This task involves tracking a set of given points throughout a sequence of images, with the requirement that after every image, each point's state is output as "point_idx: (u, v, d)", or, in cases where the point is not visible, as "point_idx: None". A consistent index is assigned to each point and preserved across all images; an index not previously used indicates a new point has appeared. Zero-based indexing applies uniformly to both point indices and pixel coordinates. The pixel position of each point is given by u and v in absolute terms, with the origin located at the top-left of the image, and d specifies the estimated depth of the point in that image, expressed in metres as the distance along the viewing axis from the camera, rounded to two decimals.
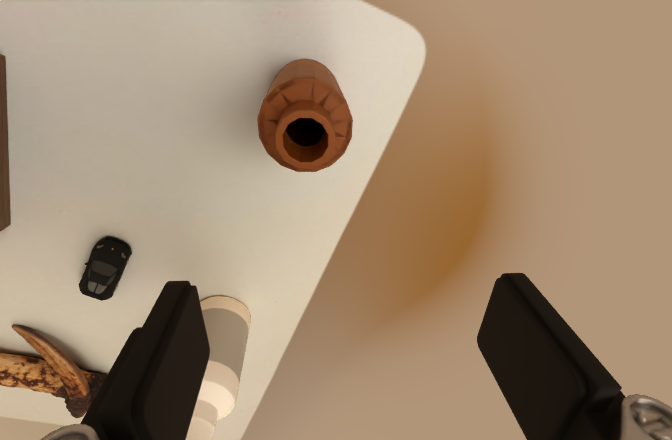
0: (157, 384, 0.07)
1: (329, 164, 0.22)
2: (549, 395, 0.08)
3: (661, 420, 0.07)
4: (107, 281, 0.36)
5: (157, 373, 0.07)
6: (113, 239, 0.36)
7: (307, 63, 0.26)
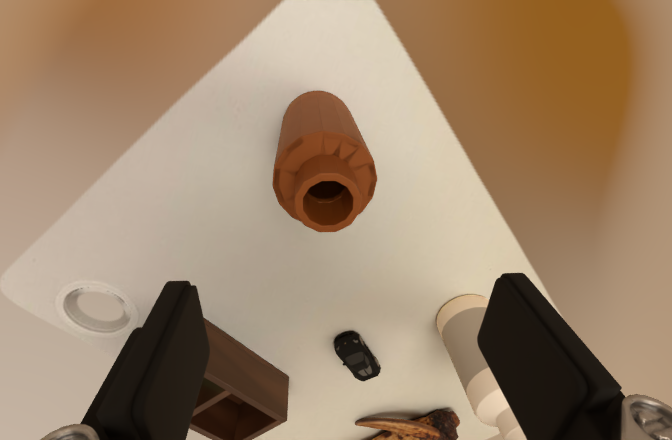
0: (157, 384, 0.07)
1: (374, 180, 0.19)
2: (549, 395, 0.08)
3: (661, 420, 0.07)
4: (366, 364, 0.41)
5: (157, 373, 0.07)
6: (339, 336, 0.41)
7: (286, 118, 0.24)
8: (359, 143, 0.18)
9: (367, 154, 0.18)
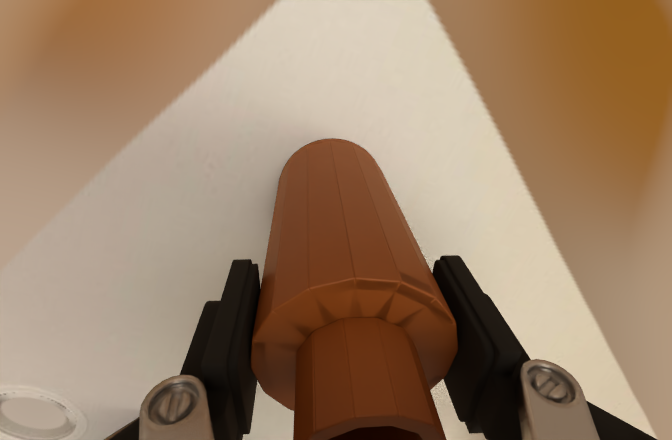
0: (242, 345, 0.08)
1: (453, 352, 0.10)
2: (467, 364, 0.09)
3: (551, 379, 0.08)
4: None
5: (242, 335, 0.08)
6: None
7: (282, 190, 0.15)
8: (431, 296, 0.08)
9: (445, 313, 0.09)
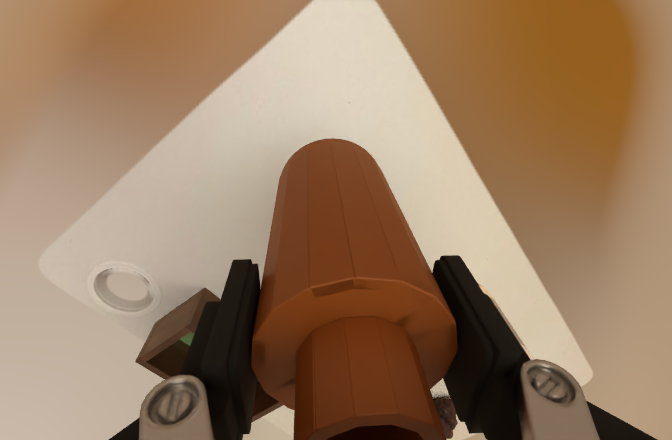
0: (242, 345, 0.08)
1: (453, 351, 0.10)
2: (467, 364, 0.09)
3: (551, 379, 0.08)
4: None
5: (242, 335, 0.08)
6: None
7: (282, 190, 0.15)
8: (431, 295, 0.09)
9: (445, 313, 0.09)
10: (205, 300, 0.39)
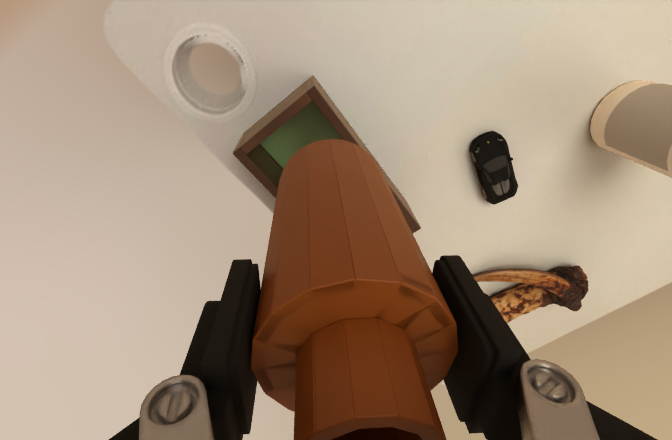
0: (242, 345, 0.08)
1: (454, 353, 0.10)
2: (467, 364, 0.09)
3: (551, 379, 0.08)
4: (508, 171, 0.35)
5: (242, 335, 0.08)
6: (479, 137, 0.35)
7: (282, 191, 0.15)
8: (431, 297, 0.08)
9: (445, 314, 0.09)
10: (318, 84, 0.30)
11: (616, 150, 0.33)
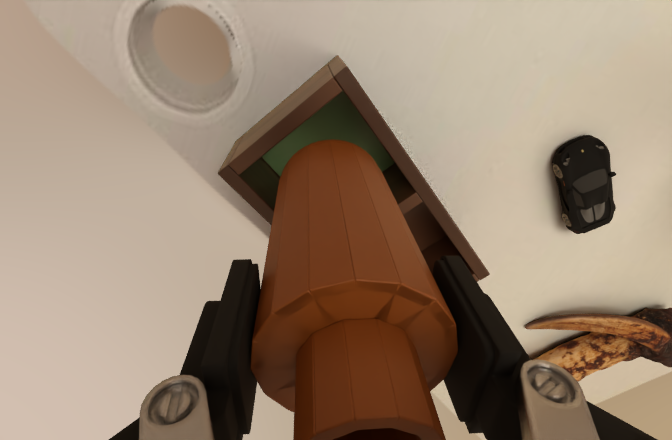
0: (242, 345, 0.08)
1: (453, 353, 0.10)
2: (467, 364, 0.09)
3: (551, 378, 0.08)
4: (608, 191, 0.25)
5: (242, 335, 0.08)
6: (567, 144, 0.25)
7: (282, 191, 0.15)
8: (431, 297, 0.08)
9: (445, 315, 0.09)
10: None
11: None
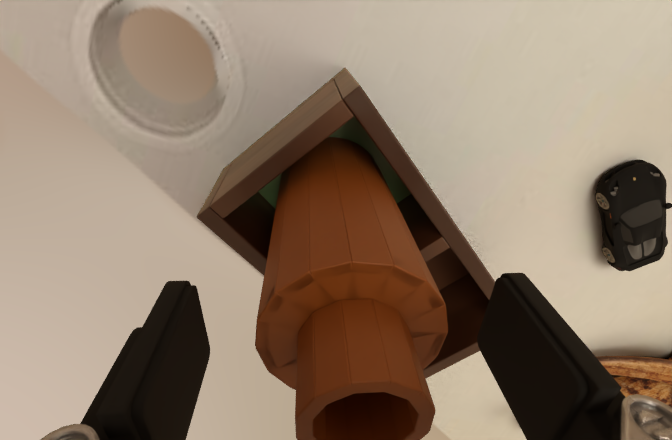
0: (157, 384, 0.07)
1: (444, 333, 0.10)
2: (549, 395, 0.08)
3: (661, 420, 0.07)
4: (662, 226, 0.21)
5: (157, 373, 0.07)
6: (615, 170, 0.21)
7: (284, 186, 0.16)
8: (422, 279, 0.09)
9: (435, 296, 0.10)
10: None
11: None
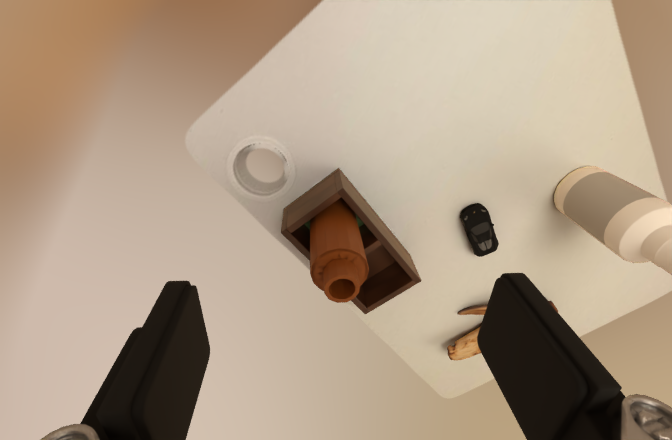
0: (157, 384, 0.07)
1: (367, 270, 0.34)
2: (549, 395, 0.08)
3: (661, 420, 0.07)
4: (490, 234, 0.45)
5: (157, 373, 0.07)
6: (467, 208, 0.44)
7: (314, 219, 0.39)
8: (358, 253, 0.33)
9: (363, 258, 0.33)
10: (343, 177, 0.40)
11: (572, 220, 0.43)
